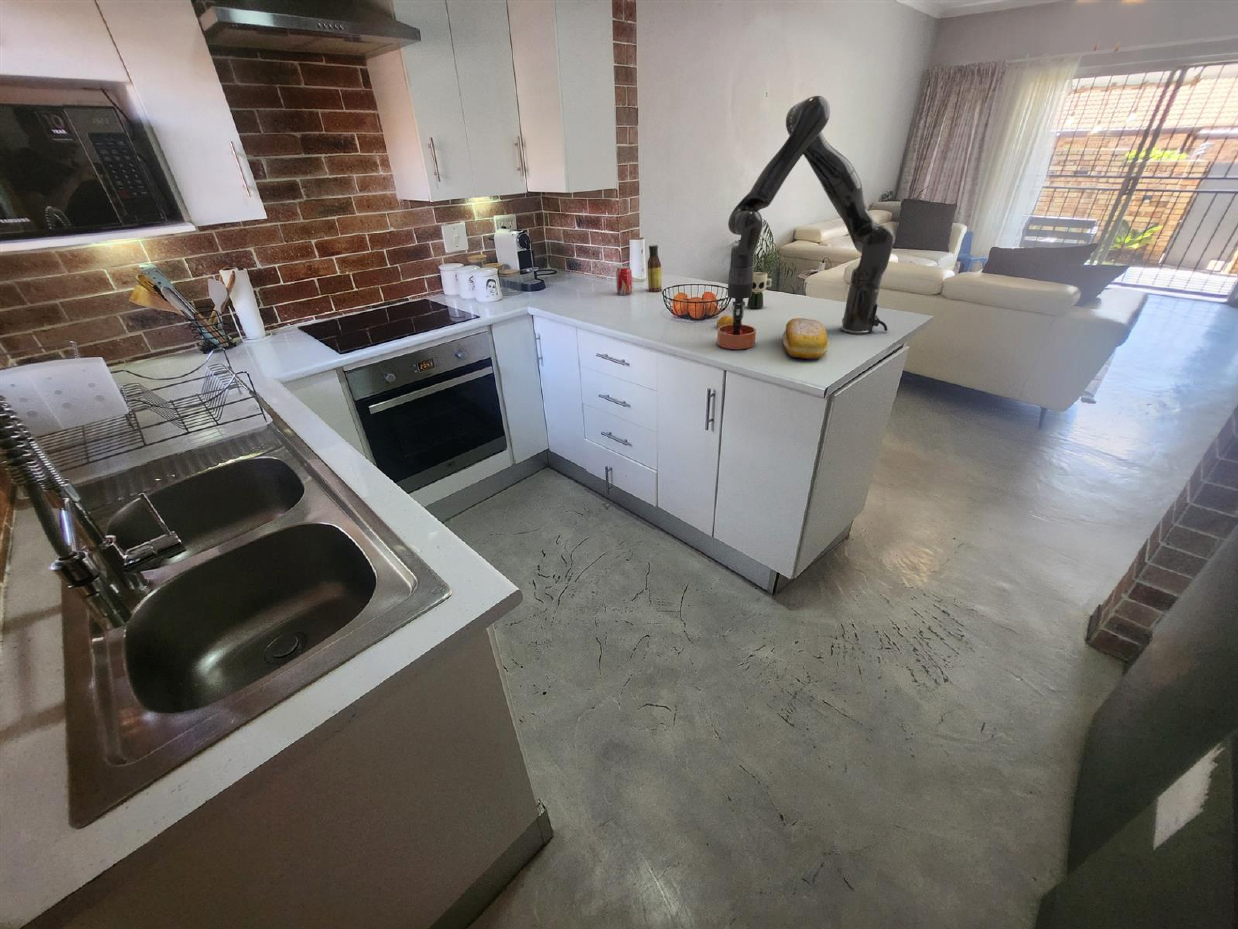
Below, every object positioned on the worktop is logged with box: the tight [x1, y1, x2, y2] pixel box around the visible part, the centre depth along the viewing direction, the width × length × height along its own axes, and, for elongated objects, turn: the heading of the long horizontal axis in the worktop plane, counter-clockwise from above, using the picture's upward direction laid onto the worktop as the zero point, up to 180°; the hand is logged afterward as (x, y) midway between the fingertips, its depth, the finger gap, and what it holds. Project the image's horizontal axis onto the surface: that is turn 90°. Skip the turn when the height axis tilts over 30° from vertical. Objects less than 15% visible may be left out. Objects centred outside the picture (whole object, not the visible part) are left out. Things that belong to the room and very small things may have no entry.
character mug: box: [746, 271, 773, 309], centre depth 201 cm, size 11×7×13 cm, turn 79°
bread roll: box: [716, 315, 743, 328], centre depth 183 cm, size 8×9×4 cm
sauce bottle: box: [647, 244, 663, 293], centre depth 233 cm, size 7×6×20 cm
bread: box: [782, 317, 829, 360], centre depth 159 cm, size 13×26×8 cm, turn 169°
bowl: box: [716, 323, 757, 350], centre depth 166 cm, size 12×12×5 cm
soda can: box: [615, 265, 633, 296], centre depth 232 cm, size 7×7×12 cm
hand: (736, 334), depth 166 cm, fingers open, 4 cm apart
